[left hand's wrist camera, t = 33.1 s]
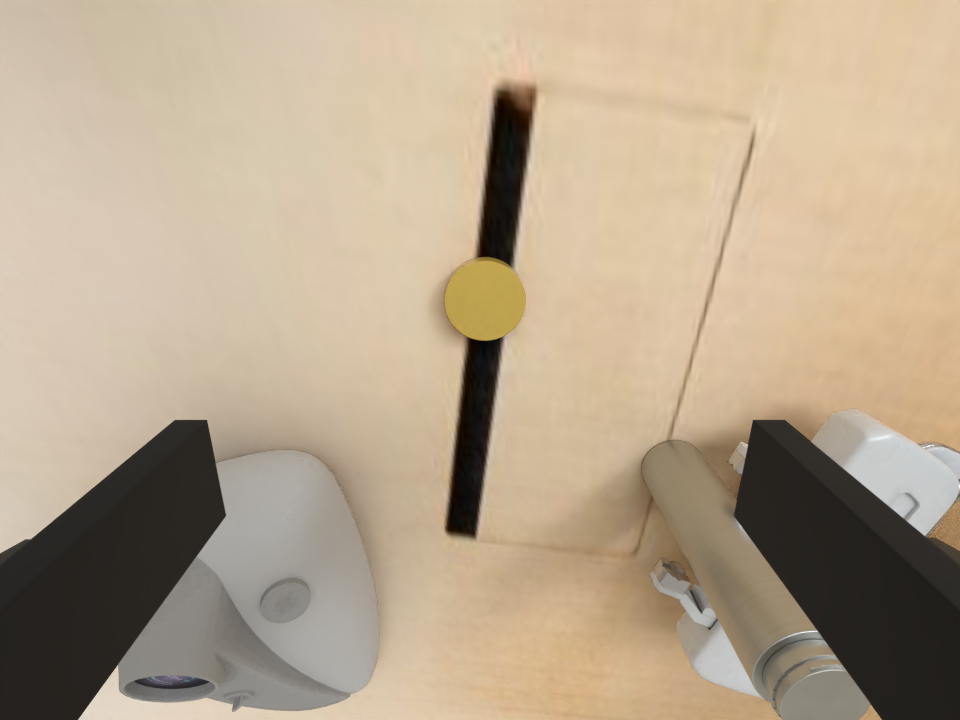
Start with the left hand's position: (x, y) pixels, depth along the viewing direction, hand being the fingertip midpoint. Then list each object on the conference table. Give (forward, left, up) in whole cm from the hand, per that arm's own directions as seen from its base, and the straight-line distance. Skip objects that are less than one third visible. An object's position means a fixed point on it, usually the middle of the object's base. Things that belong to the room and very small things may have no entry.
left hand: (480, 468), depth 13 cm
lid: (+1, 0, -22) cm, 22 cm away
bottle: (+20, 0, -23) cm, 30 cm away
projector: (+4, -27, -23) cm, 36 cm away
